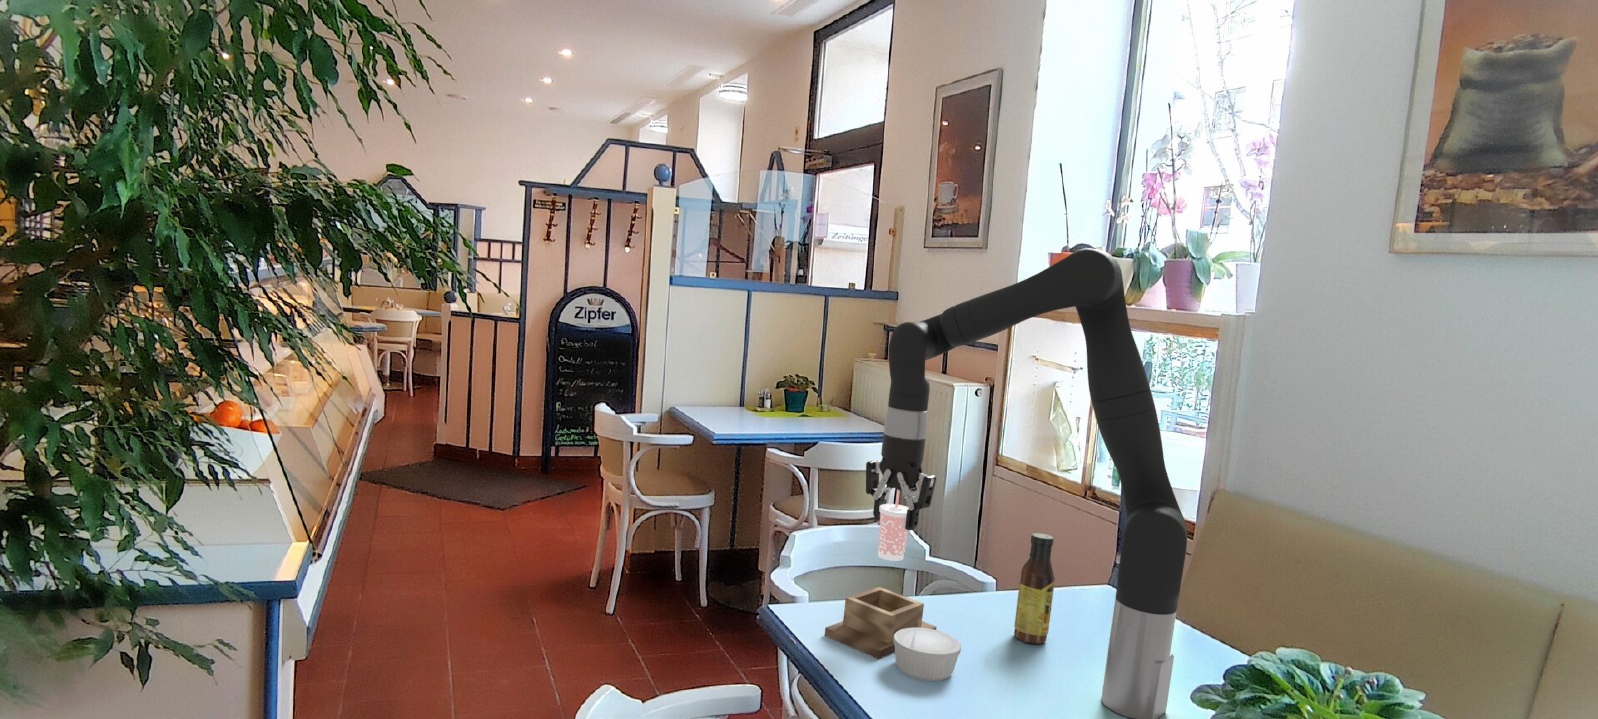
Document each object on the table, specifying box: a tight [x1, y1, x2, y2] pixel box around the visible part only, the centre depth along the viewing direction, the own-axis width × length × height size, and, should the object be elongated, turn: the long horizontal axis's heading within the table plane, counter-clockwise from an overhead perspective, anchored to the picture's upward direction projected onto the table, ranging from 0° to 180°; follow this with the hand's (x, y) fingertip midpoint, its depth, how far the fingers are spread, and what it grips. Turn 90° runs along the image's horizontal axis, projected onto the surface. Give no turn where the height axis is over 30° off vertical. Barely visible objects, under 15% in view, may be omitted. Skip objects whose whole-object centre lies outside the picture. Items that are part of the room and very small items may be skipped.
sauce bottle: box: [1013, 532, 1056, 645], centre depth 171 cm, size 7×6×20 cm
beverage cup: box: [877, 489, 909, 562], centre depth 164 cm, size 6×6×14 cm
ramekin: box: [893, 628, 962, 682], centre depth 153 cm, size 11×11×5 cm
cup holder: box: [824, 586, 938, 660], centre depth 166 cm, size 12×18×6 cm, turn 139°
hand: (894, 524), depth 164 cm, fingers closed on beverage cup, 6 cm apart
